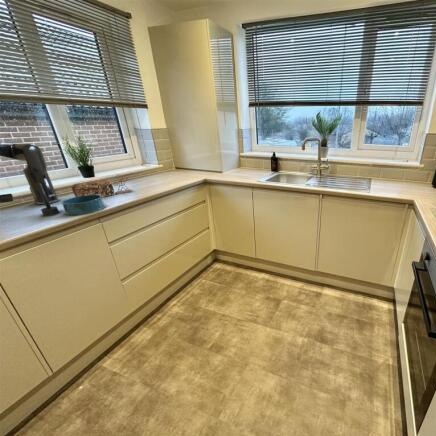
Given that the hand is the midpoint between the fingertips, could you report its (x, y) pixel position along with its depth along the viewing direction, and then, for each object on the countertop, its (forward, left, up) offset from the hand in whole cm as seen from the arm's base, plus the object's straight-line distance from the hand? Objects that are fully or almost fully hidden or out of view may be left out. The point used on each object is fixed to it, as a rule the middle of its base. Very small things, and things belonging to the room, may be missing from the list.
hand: (12, 197), depth 111 cm
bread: (+3, +37, -11) cm, 39 cm away
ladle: (+6, +8, -11) cm, 15 cm away
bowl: (+19, +15, -11) cm, 27 cm away
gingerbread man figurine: (+13, +48, -11) cm, 51 cm away
